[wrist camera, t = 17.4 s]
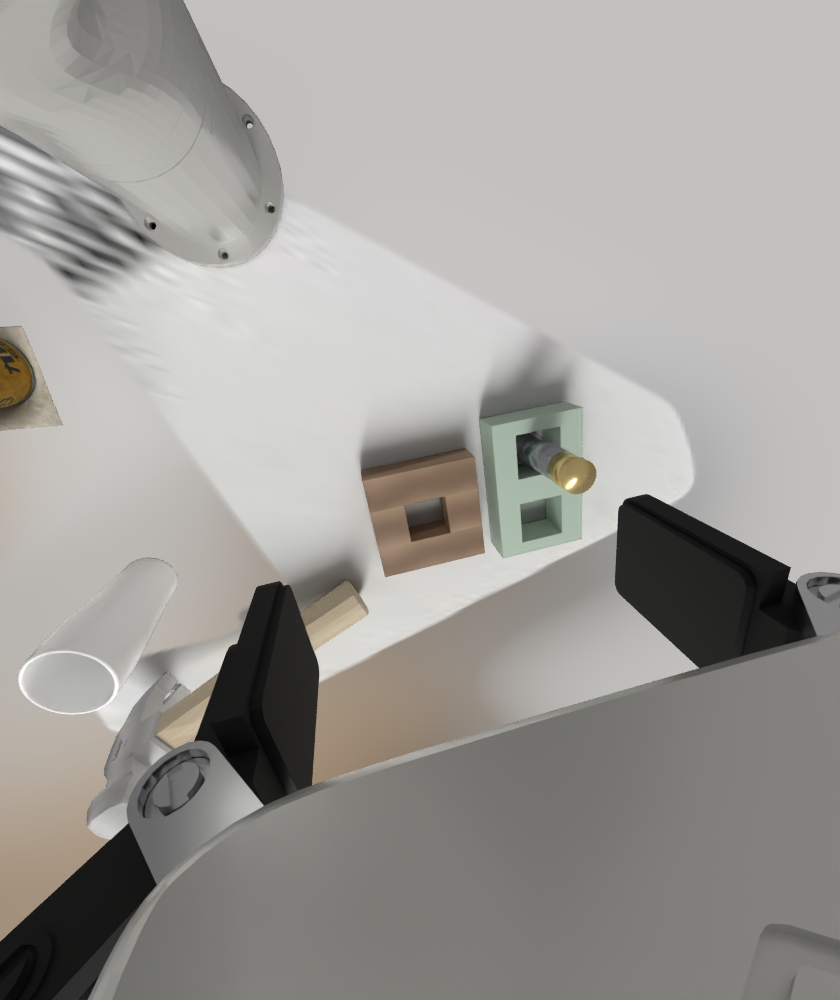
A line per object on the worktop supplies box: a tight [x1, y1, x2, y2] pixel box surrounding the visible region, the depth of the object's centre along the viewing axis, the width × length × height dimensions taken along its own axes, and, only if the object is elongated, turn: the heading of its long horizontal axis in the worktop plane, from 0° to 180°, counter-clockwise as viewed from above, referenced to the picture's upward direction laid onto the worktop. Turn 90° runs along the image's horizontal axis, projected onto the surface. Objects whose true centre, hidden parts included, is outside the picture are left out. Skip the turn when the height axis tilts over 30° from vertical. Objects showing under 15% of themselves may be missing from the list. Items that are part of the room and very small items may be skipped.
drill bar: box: [516, 432, 596, 494], centre depth 41 cm, size 3×3×12 cm
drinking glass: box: [18, 558, 178, 714], centre depth 37 cm, size 7×7×15 cm
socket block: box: [361, 448, 485, 577], centre depth 45 cm, size 12×12×4 cm
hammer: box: [87, 580, 368, 840], centre depth 45 cm, size 16×5×30 cm
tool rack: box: [479, 402, 583, 558], centre depth 46 cm, size 16×10×4 cm, turn 9°
